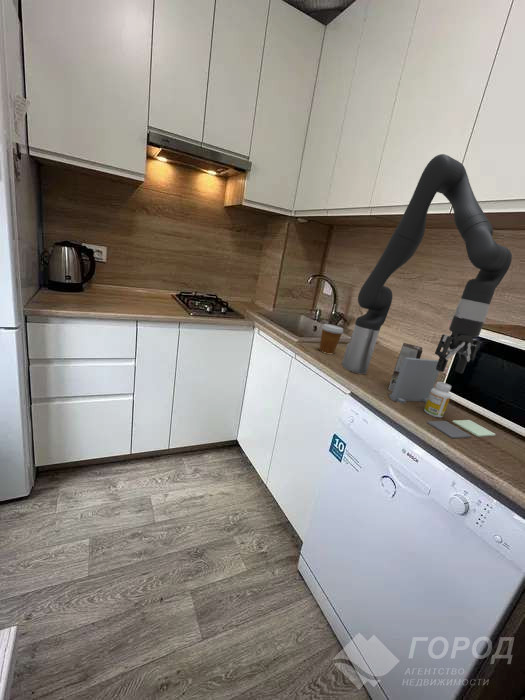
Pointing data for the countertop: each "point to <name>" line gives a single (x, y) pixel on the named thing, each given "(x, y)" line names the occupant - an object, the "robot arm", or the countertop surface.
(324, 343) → the disposable coffee cup
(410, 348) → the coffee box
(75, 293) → the countertop surface
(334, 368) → the countertop surface
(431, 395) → the supplement bottle
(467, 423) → the green pad
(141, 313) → the countertop surface
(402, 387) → the screen
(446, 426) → the grey pad
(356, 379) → the countertop surface
